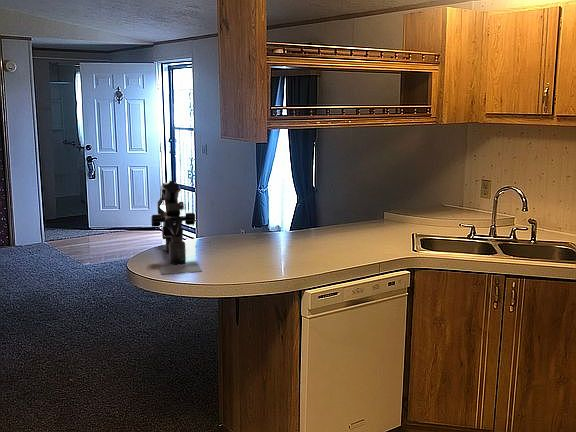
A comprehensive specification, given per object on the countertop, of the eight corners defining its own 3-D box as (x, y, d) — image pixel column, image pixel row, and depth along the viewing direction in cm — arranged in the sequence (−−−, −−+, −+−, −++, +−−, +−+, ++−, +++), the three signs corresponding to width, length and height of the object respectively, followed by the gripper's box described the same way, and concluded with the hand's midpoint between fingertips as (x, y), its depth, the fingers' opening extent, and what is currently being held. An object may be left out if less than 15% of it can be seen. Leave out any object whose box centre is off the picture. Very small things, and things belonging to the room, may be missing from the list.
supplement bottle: (166, 263, 266) (165, 235, 264) (179, 260, 270) (178, 233, 268) (175, 266, 261) (174, 237, 259) (189, 263, 266) (188, 235, 263)
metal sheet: (159, 267, 258) (159, 266, 258) (198, 264, 262) (198, 264, 262) (161, 274, 248) (161, 273, 248) (202, 271, 252) (202, 270, 252)
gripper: (150, 196, 270) (153, 226, 262) (194, 194, 275) (198, 224, 267) (150, 211, 279) (152, 240, 271) (192, 209, 284) (196, 238, 276)
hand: (175, 235), depth 271 cm, fingers closed
